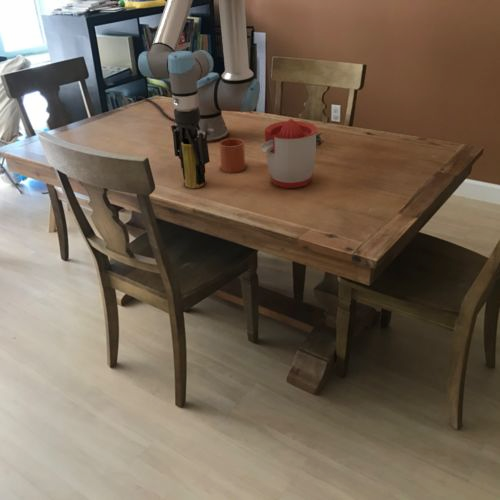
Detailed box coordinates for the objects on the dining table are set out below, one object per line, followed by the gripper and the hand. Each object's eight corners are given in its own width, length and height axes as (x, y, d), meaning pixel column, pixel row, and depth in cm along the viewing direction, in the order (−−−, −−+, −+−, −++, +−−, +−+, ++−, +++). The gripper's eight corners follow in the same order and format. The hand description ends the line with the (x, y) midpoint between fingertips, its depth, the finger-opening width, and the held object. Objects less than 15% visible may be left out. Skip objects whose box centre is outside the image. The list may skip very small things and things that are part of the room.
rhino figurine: (318, 150, 184) (319, 134, 181) (293, 140, 193) (293, 125, 190) (327, 147, 186) (327, 131, 183) (301, 138, 195) (301, 122, 192)
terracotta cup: (216, 169, 173) (214, 143, 169) (232, 161, 178) (231, 136, 174) (234, 174, 169) (232, 148, 164) (250, 166, 174) (248, 141, 169)
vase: (182, 188, 162) (177, 144, 154) (188, 180, 167) (183, 137, 159) (201, 188, 161) (197, 145, 153) (206, 180, 166) (202, 138, 158)
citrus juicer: (253, 178, 166) (250, 117, 155) (301, 167, 171) (301, 108, 161) (274, 197, 153) (273, 132, 143) (325, 185, 159) (327, 121, 148)
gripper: (155, 106, 154) (165, 177, 166) (199, 116, 143) (206, 192, 155) (174, 100, 158) (183, 170, 171) (218, 110, 148) (223, 183, 160)
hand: (194, 180), depth 163 cm, fingers closed on vase, 6 cm apart
